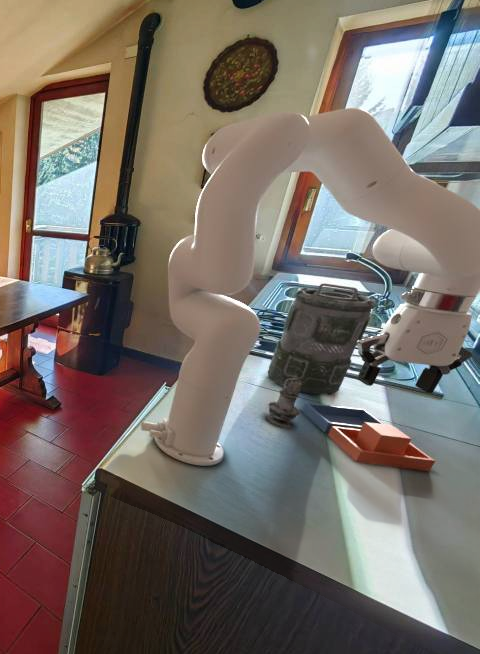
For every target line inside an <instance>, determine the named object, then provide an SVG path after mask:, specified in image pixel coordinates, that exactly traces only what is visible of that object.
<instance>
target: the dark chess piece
mask: <svg viewBox="0 0 480 654" xmlns="http://www.w3.org/2000/svg"><path fill="white" fill-rule="evenodd" d="M297 378H298V377H297V376H294V378H290V379H287V380H286V381H285V384H284V387H282V389H280V390H279V397H278V399H277V401H271V402H268V404H267V407H268V413H269V414H267V415H266V416H264V418H265V419H264V420H266V422H268V423H269V424H271V425H273V426H276V427H279V428H283V429H284V428H285V429H289V428H293V427H294V423H293V422H292V421H294V420H295V418H297V416H299V415H300V413H301V411H300V410H299V409H298V408H296V407H295V405H296V402H297V399H299V398H300V395H299V393H300V392H299V390H300V388H301V385H302V383H301V382H300V381H299V380H298V379H297Z"/></svg>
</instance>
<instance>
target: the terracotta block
mask: <svg viewBox="0 0 480 654" xmlns="http://www.w3.org/2000/svg"><path fill="white" fill-rule="evenodd" d="M411 441H412V438H411V437H410V436H408V435H407V434H405V433H404V432H402V431H401V430H400V429H399V428H397V427H396V426H394V425H392V424H385V423H384V424H378V423H369V422H364V424H363V426H362V428H361V430H360V432H359V434H358V436H357V438H356V440H355V442H356V443H357V444H358V445H359V446H361V447H362V448H363V449H364V450H365V451H373V452H380V453H388V454H396V455H403V454H404V452H405V450H406V448H407V447H408V445H409V443H411Z"/></svg>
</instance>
